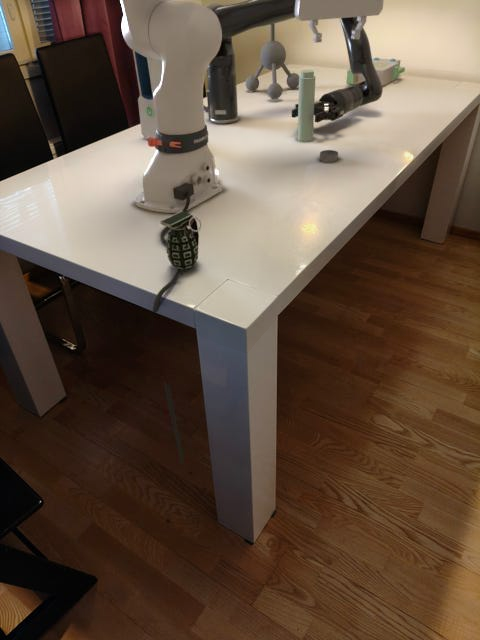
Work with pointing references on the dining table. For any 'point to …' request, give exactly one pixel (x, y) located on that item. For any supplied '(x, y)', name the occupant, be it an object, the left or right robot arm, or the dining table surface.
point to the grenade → (182, 240)
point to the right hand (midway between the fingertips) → (303, 116)
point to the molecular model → (273, 67)
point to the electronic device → (147, 92)
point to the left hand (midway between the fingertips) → (336, 40)
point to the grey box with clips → (379, 71)
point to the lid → (328, 156)
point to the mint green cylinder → (306, 105)
